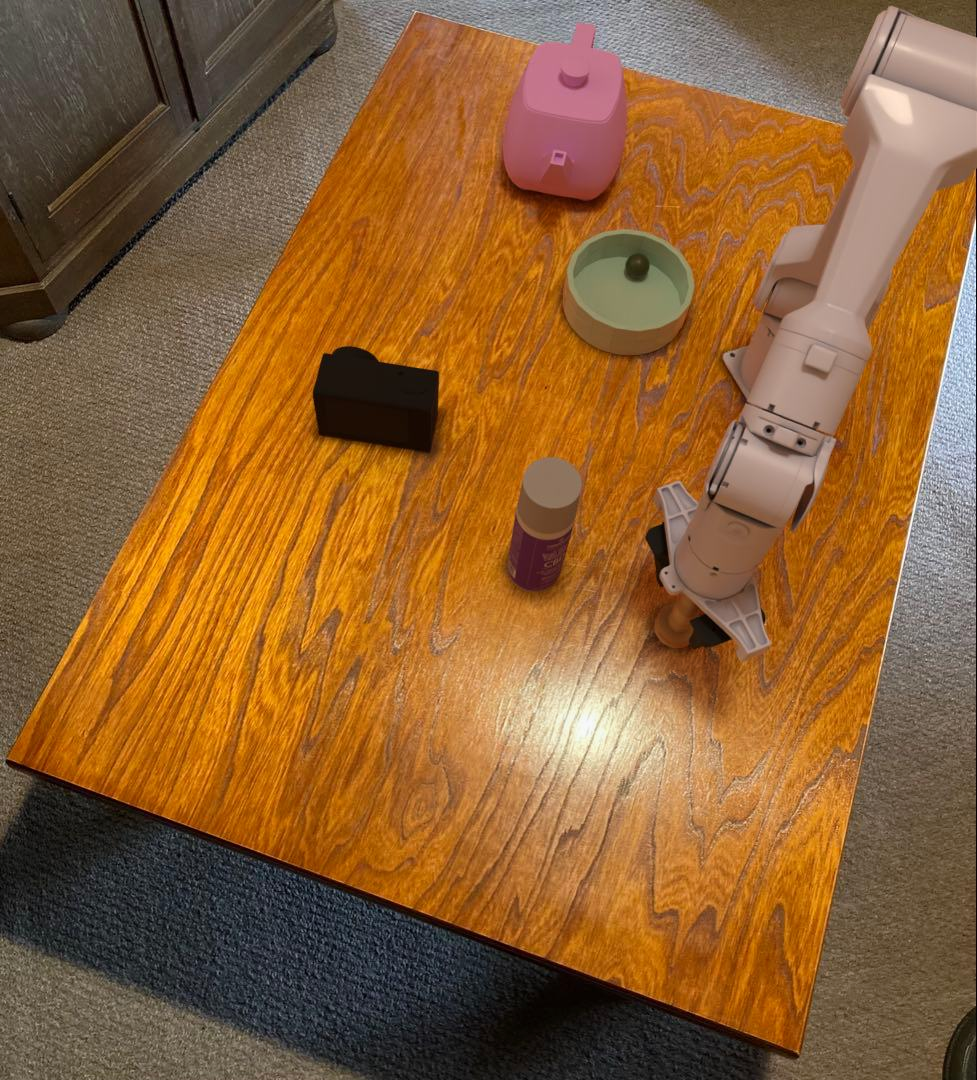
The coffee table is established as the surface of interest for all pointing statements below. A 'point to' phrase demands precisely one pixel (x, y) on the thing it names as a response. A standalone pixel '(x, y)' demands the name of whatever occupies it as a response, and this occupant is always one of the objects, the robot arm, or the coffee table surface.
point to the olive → (637, 265)
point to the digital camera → (375, 400)
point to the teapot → (567, 119)
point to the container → (543, 523)
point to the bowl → (627, 292)
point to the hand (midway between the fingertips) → (685, 610)
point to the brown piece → (676, 622)
